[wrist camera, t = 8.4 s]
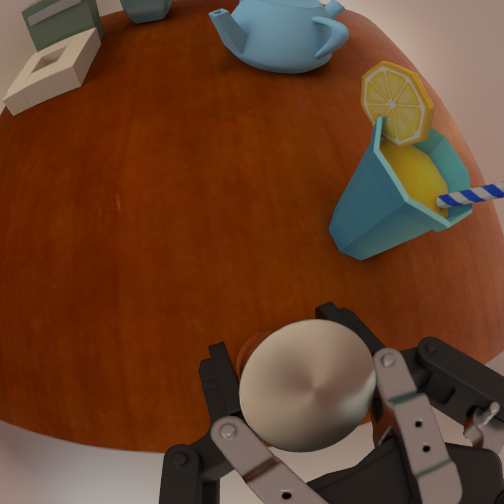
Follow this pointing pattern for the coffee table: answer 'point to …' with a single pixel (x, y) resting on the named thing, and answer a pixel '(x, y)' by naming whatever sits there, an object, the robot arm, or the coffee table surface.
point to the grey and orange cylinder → (305, 384)
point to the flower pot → (146, 9)
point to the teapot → (282, 33)
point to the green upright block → (60, 20)
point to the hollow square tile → (53, 71)
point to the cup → (402, 171)
